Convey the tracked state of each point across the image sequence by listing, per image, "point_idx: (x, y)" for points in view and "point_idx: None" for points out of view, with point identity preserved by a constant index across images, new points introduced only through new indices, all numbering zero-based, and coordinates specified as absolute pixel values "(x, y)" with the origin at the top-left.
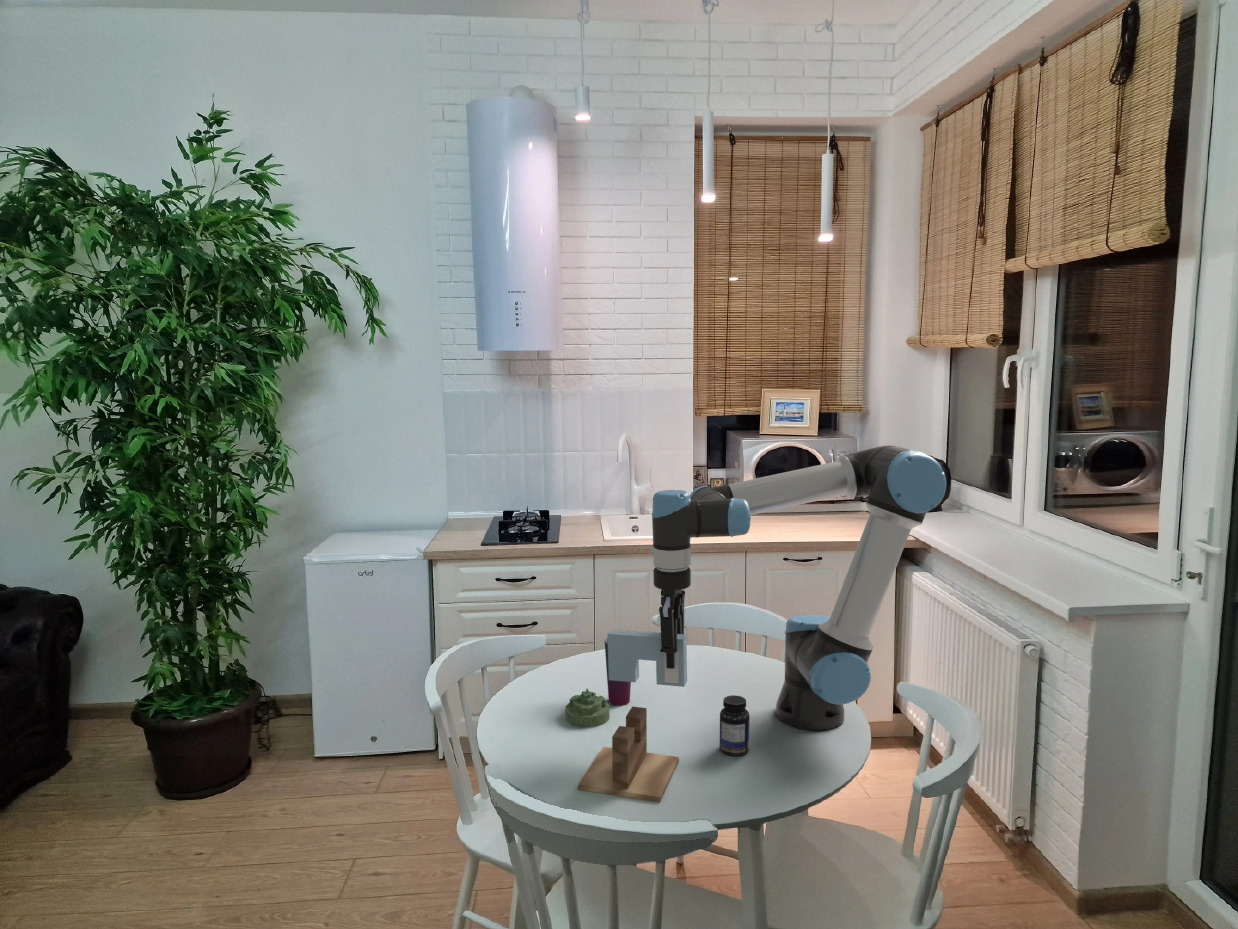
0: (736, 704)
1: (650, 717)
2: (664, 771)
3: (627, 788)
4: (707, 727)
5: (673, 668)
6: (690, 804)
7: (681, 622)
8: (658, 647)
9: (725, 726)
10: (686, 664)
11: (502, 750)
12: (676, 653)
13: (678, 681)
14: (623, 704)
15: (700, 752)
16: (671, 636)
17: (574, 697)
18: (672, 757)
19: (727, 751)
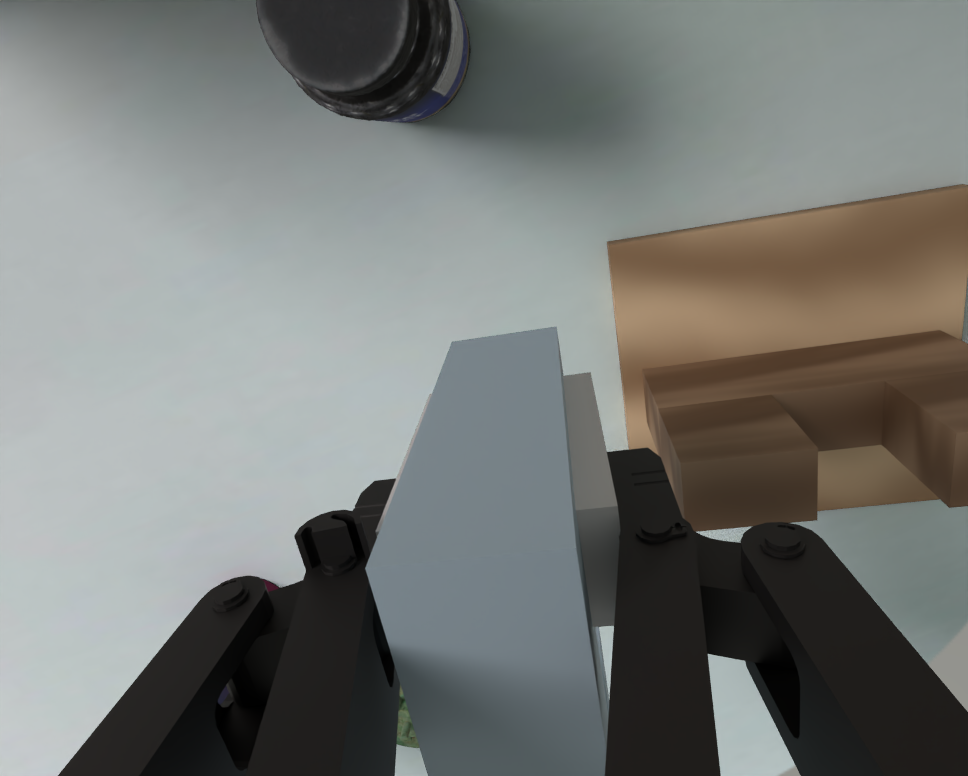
0: None
1: (310, 472)
2: (755, 252)
3: (941, 332)
4: (267, 243)
5: (647, 449)
6: (950, 54)
7: (254, 770)
8: (602, 698)
9: (449, 59)
10: (446, 392)
11: (742, 764)
12: (616, 507)
13: (569, 377)
14: (275, 587)
15: (491, 188)
16: (962, 731)
17: (412, 740)
18: (623, 268)
19: (467, 58)
